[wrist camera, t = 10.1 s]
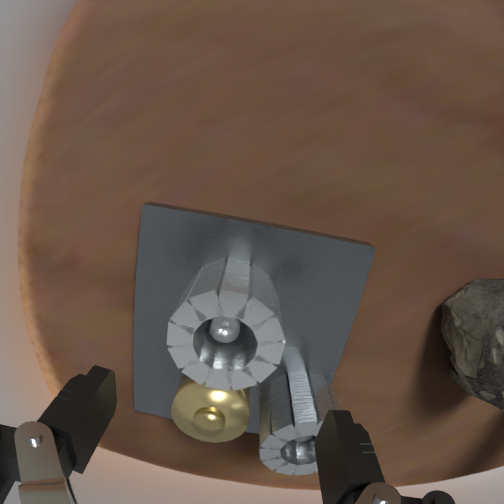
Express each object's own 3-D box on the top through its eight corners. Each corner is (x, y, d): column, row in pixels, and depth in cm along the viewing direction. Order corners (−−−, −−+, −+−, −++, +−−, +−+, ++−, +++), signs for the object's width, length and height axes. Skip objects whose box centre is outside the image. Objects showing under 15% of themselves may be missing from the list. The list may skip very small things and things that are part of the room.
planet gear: (285, 267, 19) (296, 302, 14) (267, 347, 20) (270, 396, 15) (192, 250, 19) (172, 280, 14) (183, 332, 20) (164, 378, 15)
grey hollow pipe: (336, 367, 21) (353, 415, 16) (331, 421, 22) (344, 468, 17) (256, 375, 21) (256, 425, 16) (261, 428, 22) (262, 477, 17)
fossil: (531, 334, 21) (550, 417, 13) (452, 359, 27) (450, 443, 19) (524, 240, 19) (566, 321, 11) (429, 273, 24) (432, 363, 16)
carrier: (369, 243, 20) (401, 266, 15) (306, 427, 24) (313, 472, 19) (149, 201, 19) (117, 214, 14) (138, 400, 23) (120, 442, 18)
